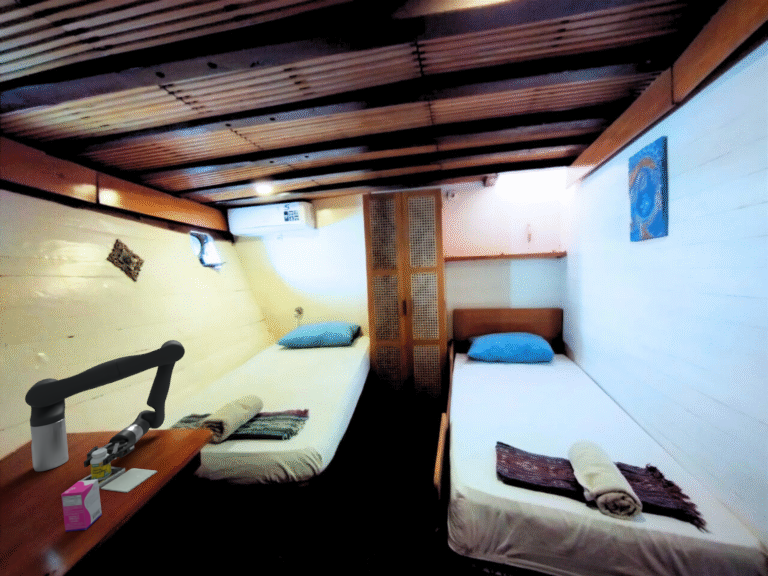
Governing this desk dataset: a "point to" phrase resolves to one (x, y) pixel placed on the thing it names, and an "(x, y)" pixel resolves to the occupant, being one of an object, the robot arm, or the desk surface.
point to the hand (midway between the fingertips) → (94, 463)
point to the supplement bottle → (99, 465)
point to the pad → (129, 480)
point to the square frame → (115, 470)
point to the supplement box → (81, 505)
